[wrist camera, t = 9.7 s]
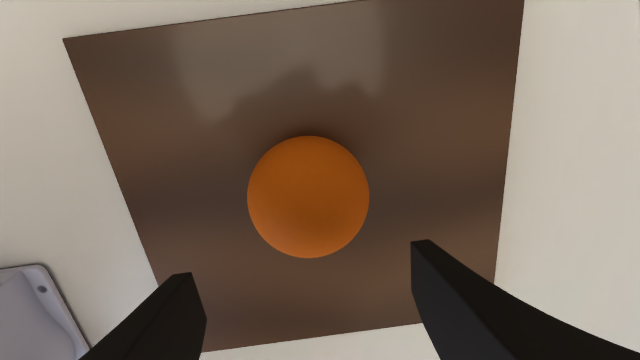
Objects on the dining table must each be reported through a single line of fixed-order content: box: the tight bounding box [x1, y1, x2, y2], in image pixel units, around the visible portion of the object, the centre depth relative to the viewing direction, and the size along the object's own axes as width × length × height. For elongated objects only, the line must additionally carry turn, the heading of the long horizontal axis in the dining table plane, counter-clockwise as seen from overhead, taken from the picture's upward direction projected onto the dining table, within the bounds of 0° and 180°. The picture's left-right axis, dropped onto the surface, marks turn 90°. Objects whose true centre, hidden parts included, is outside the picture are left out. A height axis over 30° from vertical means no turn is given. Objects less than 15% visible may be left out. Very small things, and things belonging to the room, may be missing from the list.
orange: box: [247, 136, 369, 258], centre depth 16 cm, size 6×6×6 cm
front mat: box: [62, 0, 524, 353], centre depth 19 cm, size 20×21×1 cm
